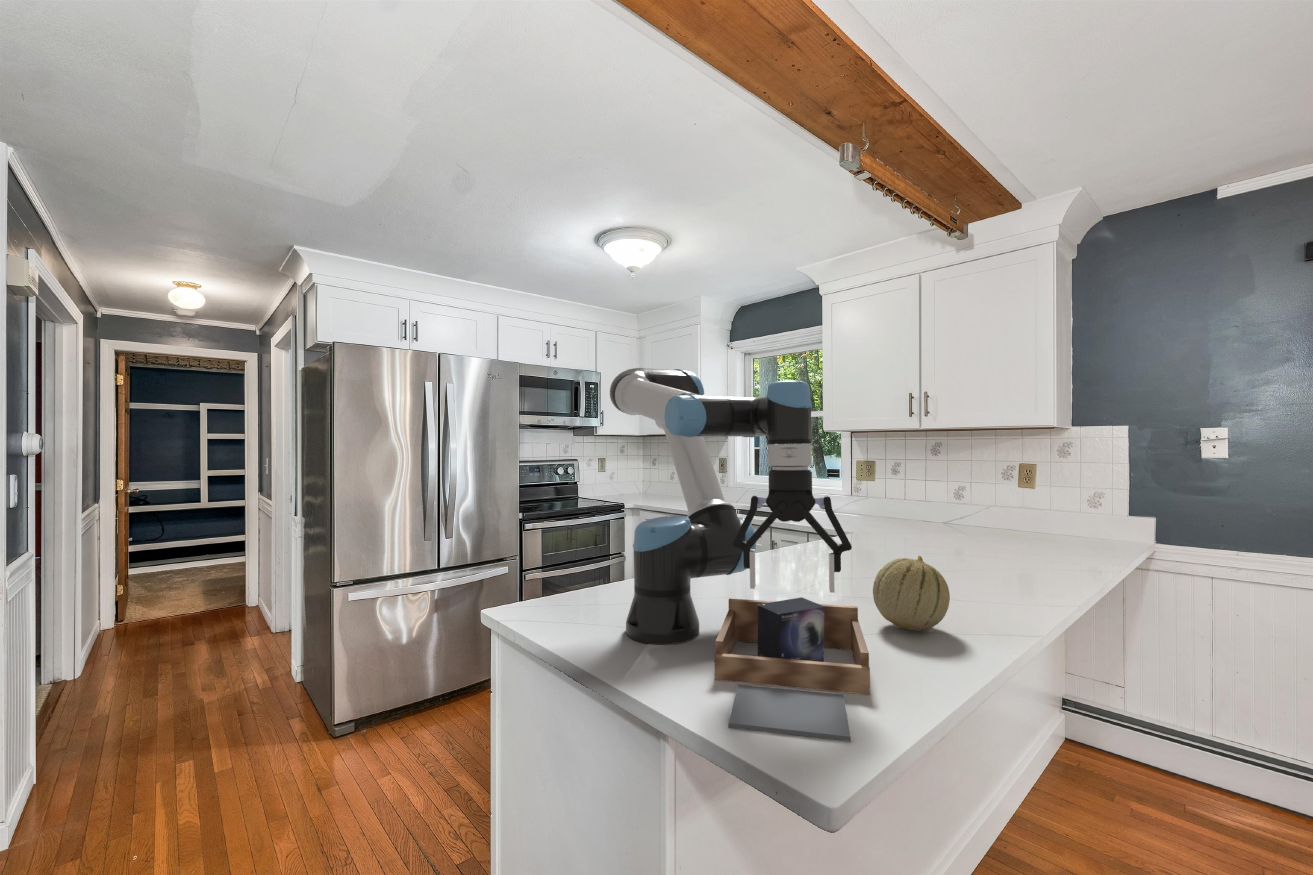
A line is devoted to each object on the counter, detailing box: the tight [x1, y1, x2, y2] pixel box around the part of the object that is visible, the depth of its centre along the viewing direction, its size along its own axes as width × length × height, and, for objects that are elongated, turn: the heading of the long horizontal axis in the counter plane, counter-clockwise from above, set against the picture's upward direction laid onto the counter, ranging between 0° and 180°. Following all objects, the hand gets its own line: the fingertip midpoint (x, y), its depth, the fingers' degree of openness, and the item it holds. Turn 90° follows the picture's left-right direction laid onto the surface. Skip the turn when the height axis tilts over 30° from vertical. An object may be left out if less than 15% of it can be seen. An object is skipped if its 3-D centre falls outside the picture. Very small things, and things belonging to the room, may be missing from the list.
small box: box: [756, 596, 825, 662], centre depth 103 cm, size 11×6×10 cm, turn 117°
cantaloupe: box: [872, 555, 951, 632], centre depth 121 cm, size 15×15×15 cm
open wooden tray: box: [714, 598, 871, 696], centre depth 103 cm, size 24×20×8 cm
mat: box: [727, 684, 851, 742], centre depth 84 cm, size 16×13×1 cm
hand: (791, 588), depth 102 cm, fingers open, 13 cm apart
